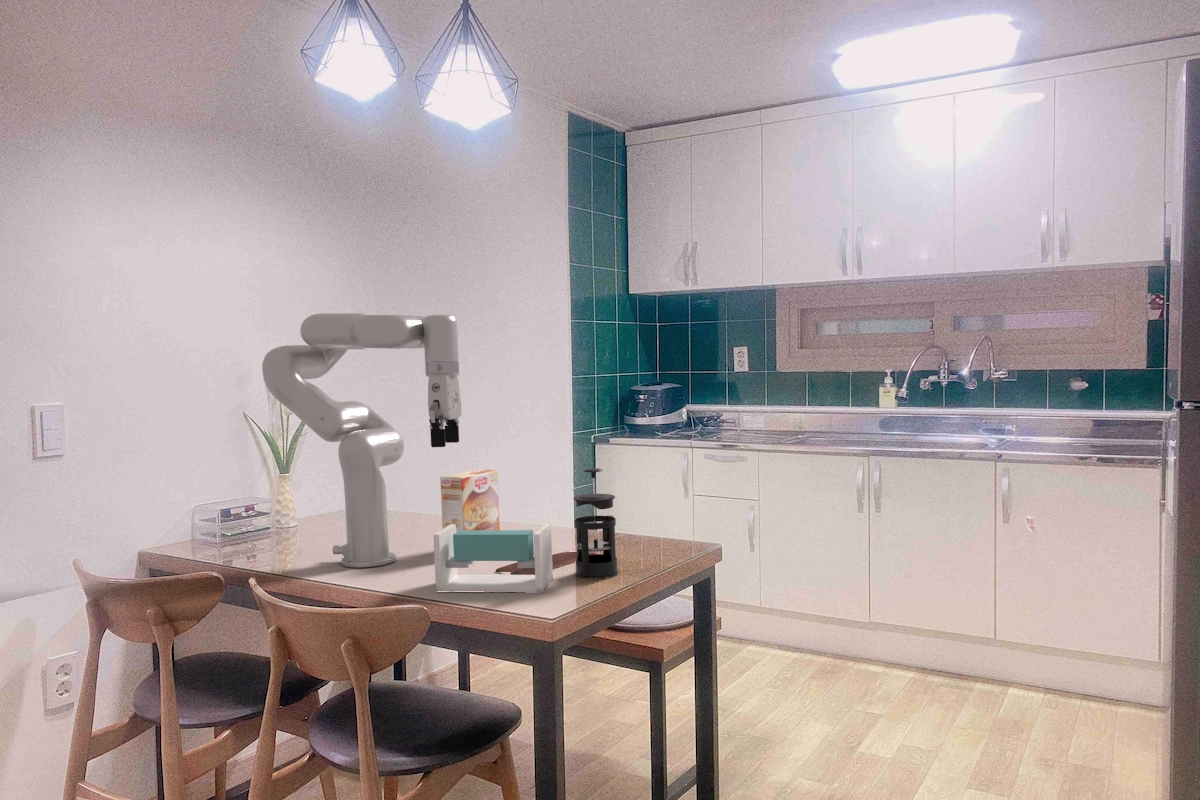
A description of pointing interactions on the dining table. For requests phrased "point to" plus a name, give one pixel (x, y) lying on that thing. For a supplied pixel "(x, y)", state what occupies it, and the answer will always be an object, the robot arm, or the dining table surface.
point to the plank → (493, 545)
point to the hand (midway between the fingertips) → (445, 444)
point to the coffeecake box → (470, 500)
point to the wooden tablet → (557, 561)
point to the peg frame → (492, 583)
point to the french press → (595, 563)
